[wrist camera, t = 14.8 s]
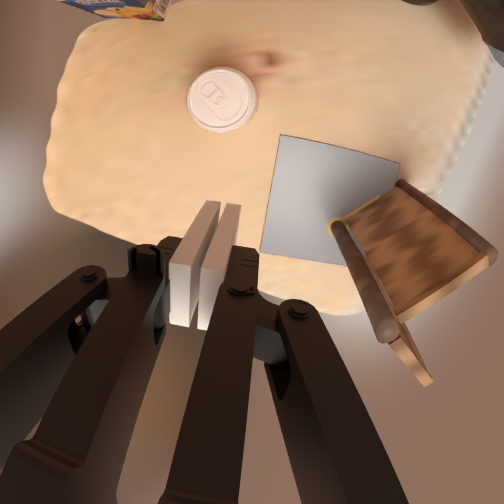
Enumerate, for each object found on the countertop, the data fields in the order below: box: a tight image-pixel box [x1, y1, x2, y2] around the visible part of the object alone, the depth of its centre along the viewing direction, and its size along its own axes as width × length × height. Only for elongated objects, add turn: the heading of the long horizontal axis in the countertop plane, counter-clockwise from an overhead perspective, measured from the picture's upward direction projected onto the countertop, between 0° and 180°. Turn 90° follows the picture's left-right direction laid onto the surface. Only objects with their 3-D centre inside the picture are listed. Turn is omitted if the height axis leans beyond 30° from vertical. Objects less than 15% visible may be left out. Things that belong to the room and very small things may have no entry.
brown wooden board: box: [359, 250, 433, 387], centre depth 38 cm, size 12×1×25 cm, turn 44°
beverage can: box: [186, 67, 259, 133], centre depth 34 cm, size 8×8×12 cm
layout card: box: [260, 135, 400, 266], centre depth 46 cm, size 20×20×1 cm
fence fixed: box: [330, 180, 498, 343], centre depth 34 cm, size 16×2×26 cm, turn 126°
